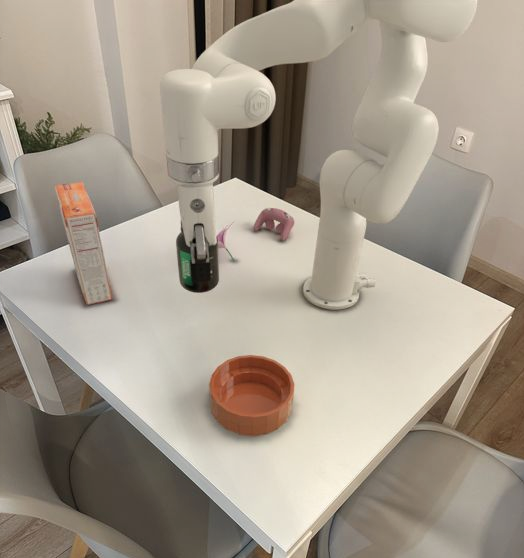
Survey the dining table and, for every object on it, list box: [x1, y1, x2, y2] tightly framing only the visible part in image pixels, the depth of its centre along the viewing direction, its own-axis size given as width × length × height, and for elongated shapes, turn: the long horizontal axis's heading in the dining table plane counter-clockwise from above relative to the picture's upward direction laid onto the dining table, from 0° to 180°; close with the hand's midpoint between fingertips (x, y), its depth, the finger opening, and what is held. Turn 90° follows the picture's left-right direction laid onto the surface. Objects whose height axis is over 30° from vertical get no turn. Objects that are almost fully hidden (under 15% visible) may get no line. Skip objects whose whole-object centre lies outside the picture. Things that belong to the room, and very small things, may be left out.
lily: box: [216, 223, 236, 262], centre depth 122 cm, size 12×12×10 cm
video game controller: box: [253, 207, 295, 242], centre depth 133 cm, size 10×5×7 cm, turn 58°
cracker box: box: [54, 181, 114, 306], centre depth 107 cm, size 14×6×21 cm, turn 24°
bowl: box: [208, 354, 295, 437], centre depth 88 cm, size 14×14×6 cm
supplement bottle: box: [175, 221, 220, 294], centre depth 85 cm, size 7×7×12 cm
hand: (198, 266), depth 87 cm, fingers closed on supplement bottle, 6 cm apart
